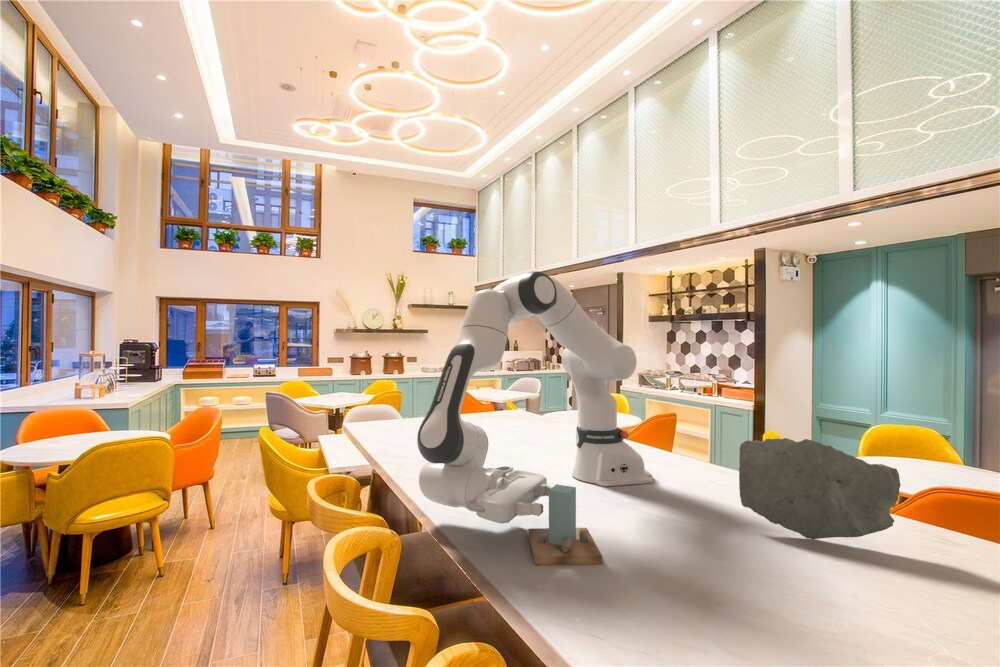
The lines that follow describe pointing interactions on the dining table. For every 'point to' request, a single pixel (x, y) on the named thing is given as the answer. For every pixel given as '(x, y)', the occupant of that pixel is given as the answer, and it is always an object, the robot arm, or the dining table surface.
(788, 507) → the rock
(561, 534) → the block
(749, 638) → the dining table surface
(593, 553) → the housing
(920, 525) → the dining table surface
